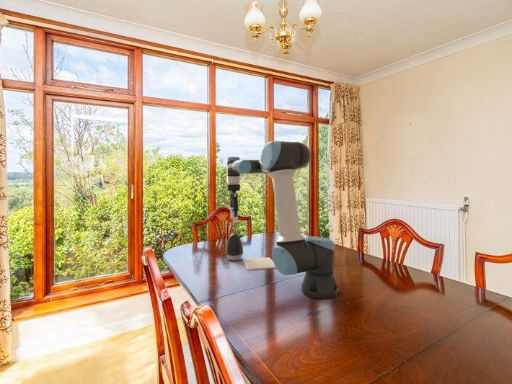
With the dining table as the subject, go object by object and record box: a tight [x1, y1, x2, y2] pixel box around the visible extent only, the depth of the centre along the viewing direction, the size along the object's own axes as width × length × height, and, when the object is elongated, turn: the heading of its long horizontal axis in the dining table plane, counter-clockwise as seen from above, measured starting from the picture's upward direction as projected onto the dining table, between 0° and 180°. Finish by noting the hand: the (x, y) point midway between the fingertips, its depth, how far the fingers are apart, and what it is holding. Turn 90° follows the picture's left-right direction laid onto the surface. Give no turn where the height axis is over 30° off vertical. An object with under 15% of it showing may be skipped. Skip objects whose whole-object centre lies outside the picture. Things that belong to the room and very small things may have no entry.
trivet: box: [242, 257, 276, 271], centre depth 156 cm, size 16×16×1 cm
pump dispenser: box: [225, 233, 244, 261], centre depth 165 cm, size 10×10×15 cm
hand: (234, 220), depth 164 cm, fingers open, 13 cm apart
